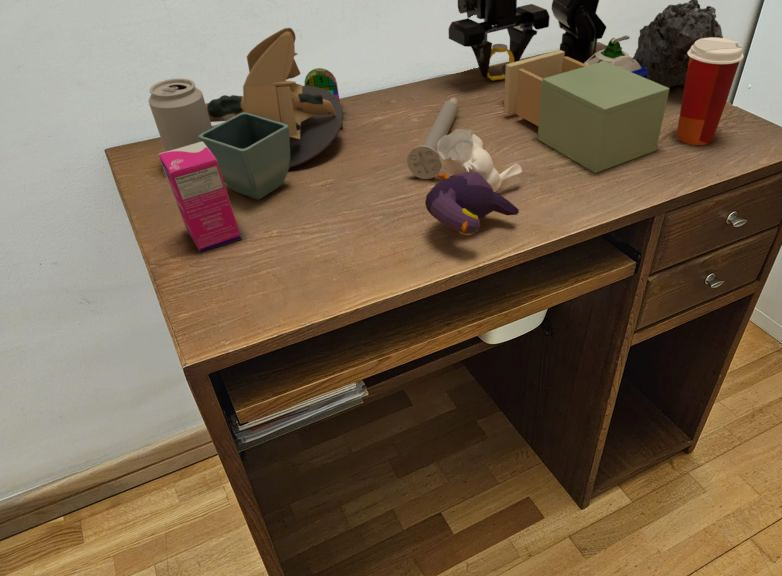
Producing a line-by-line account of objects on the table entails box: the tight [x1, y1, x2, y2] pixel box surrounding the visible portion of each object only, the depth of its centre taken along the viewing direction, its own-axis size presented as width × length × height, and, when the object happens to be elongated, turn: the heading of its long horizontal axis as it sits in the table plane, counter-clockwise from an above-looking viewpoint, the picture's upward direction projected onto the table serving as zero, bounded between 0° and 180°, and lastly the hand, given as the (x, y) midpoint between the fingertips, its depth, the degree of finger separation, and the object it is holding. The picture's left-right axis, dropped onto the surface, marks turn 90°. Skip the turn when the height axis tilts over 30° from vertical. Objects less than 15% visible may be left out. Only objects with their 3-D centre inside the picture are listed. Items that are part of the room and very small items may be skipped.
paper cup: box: [676, 37, 744, 146], centre depth 98 cm, size 8×8×14 cm
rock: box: [632, 0, 724, 88], centre depth 112 cm, size 16×14×15 cm
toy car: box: [584, 35, 649, 79], centre depth 111 cm, size 9×12×10 cm
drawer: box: [501, 49, 588, 128], centre depth 106 cm, size 18×11×8 cm, turn 33°
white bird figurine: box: [437, 128, 523, 193], centre depth 89 cm, size 12×8×10 cm
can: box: [147, 77, 213, 152], centre depth 95 cm, size 8×8×12 cm
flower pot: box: [198, 112, 290, 200], centre depth 90 cm, size 9×9×9 cm
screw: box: [406, 97, 459, 180], centre depth 102 cm, size 5×26×5 cm
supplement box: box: [157, 141, 242, 253], centre depth 80 cm, size 6×6×12 cm
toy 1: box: [205, 27, 344, 169], centre depth 95 cm, size 18×20×15 cm
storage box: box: [537, 61, 670, 174], centre depth 98 cm, size 14×13×10 cm
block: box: [304, 67, 344, 129], centre depth 106 cm, size 12×8×7 cm
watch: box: [487, 43, 514, 82], centre depth 120 cm, size 6×3×6 cm, turn 116°
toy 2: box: [424, 172, 520, 236], centre depth 82 cm, size 11×12×7 cm
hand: (498, 73), depth 121 cm, fingers closed on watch, 6 cm apart
